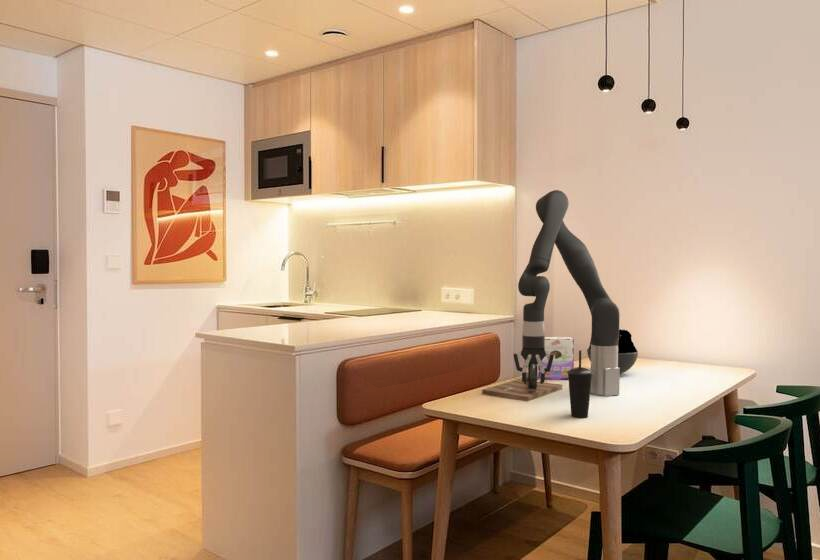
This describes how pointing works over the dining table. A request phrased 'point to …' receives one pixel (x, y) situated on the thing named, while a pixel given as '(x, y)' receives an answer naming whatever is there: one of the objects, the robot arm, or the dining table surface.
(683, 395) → the dining table surface
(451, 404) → the dining table surface
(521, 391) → the board
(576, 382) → the drinking cup
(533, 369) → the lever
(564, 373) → the candy box
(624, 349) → the bowl of black rocks
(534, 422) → the dining table surface
